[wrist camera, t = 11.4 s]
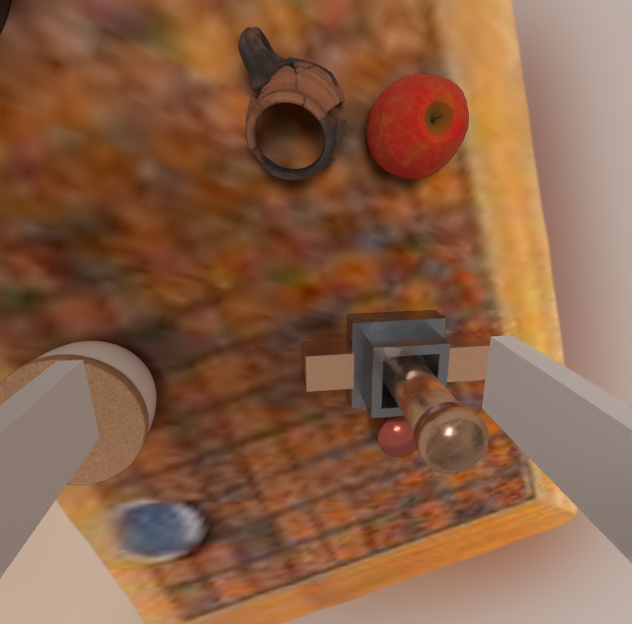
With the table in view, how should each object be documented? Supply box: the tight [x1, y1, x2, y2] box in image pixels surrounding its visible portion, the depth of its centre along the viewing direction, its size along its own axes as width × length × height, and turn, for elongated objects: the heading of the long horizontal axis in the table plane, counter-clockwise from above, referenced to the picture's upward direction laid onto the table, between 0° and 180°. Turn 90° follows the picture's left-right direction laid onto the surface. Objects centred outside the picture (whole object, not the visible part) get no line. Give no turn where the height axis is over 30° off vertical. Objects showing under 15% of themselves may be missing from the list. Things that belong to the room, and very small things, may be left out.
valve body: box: [303, 310, 490, 457], centre depth 42 cm, size 20×15×7 cm
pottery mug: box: [238, 27, 346, 180], centre depth 34 cm, size 12×10×8 cm
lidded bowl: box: [0, 341, 157, 485], centre depth 37 cm, size 13×13×11 cm
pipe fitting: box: [382, 355, 489, 474], centre depth 35 cm, size 5×5×14 cm
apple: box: [366, 74, 469, 179], centre depth 33 cm, size 8×8×11 cm
